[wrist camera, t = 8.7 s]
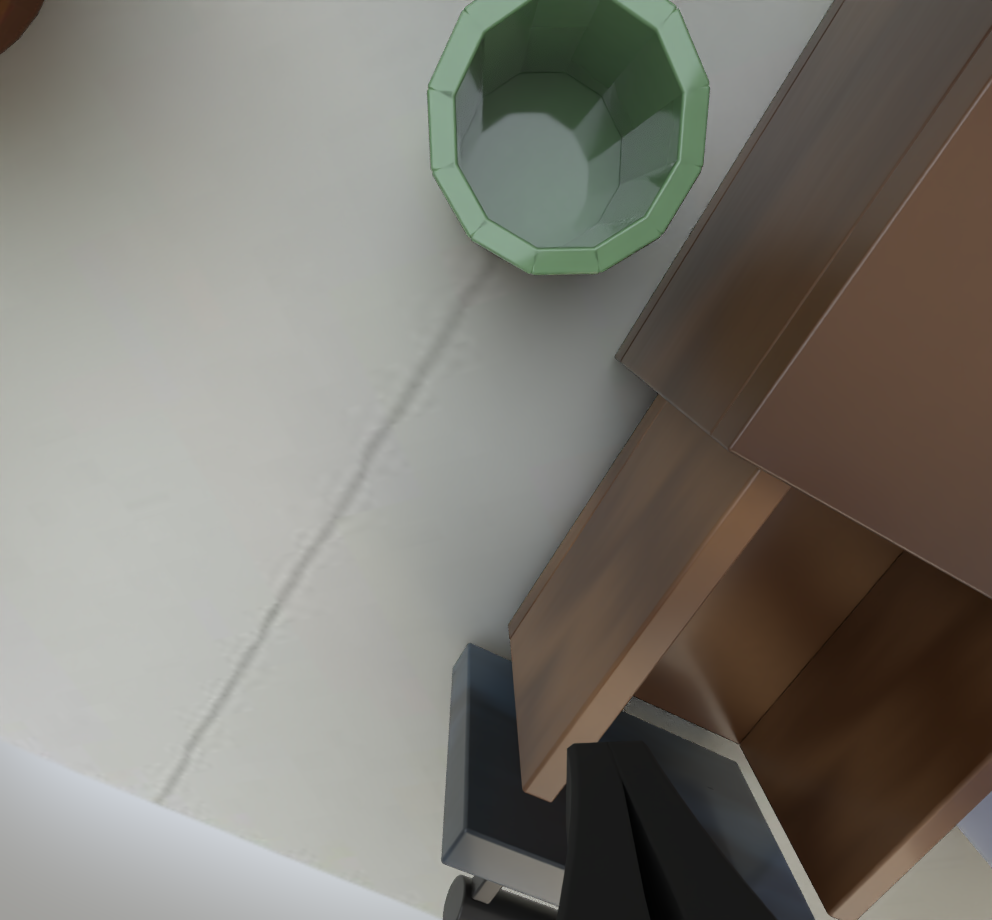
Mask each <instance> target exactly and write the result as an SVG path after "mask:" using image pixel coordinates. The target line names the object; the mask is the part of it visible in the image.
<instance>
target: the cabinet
mask: <svg viewBox="0 0 992 920" xmlns="http://www.w3.org/2000/svg"><path fill="white" fill-rule="evenodd" d="M615 358H616V359H617V360H618V361H619V362H620V363H622V364H623V365H624V366H625V367H627V368H628V369H629V370H630V371H631V372H633V373H634V374H635V375H636V376H638V377H639V378H640V379H641V380H642V381H644V382H645V383H646V384H647V385H648V386H650V387H651V388H652V389H653V390H655V391H656V392H657V393H658V394H659V395H661V396H662V397H663V398H664V399H666V400H667V401H668V402H669V403H670V404H672V405H673V406H674V407H675V408H677V409H678V410H679V411H680V412H681V413H683V414H684V415H685V416H686V417H688V418H689V419H690V420H691V421H692V422H694V423H695V424H696V425H697V426H699V427H700V428H701V429H702V430H703V431H705V432H706V433H707V434H708V435H710V436H711V437H712V438H713V439H714V440H715V441H717V442H718V443H719V444H720V445H721V446H723V447H724V448H725V449H726V450H728V451H729V452H731V453H732V454H734V455H736V456H738V457H740V458H741V459H743V460H745V461H747V462H748V463H750V464H752V465H754V466H756V467H757V468H759V469H761V470H763V471H764V472H766V473H768V474H770V475H772V476H773V477H775V478H777V479H779V480H780V481H782V482H784V483H786V484H787V485H789V486H791V487H793V488H795V489H796V490H798V491H800V492H802V493H803V494H805V495H807V496H809V497H811V498H812V499H814V500H816V501H818V502H819V503H821V504H823V505H825V506H826V507H828V508H830V509H832V510H834V511H835V512H837V513H839V514H841V515H842V516H844V517H846V518H848V519H850V520H851V521H853V522H855V523H857V524H858V525H860V526H862V527H864V528H865V529H867V530H869V531H871V532H873V533H874V534H876V535H878V536H880V537H881V538H883V539H885V540H887V541H889V542H890V543H892V544H894V545H896V546H897V547H899V548H901V549H903V550H905V551H906V552H908V553H910V554H912V555H913V556H915V557H917V558H919V559H920V560H922V561H924V562H926V563H928V564H929V565H931V566H933V567H935V568H936V569H938V570H940V571H942V572H944V573H945V574H947V575H949V576H951V577H952V578H954V579H956V580H958V581H959V582H961V583H963V584H965V585H967V586H968V587H970V588H972V589H974V590H975V591H977V592H979V593H981V594H983V595H984V596H986V597H988V598H990V599H991V600H992V0H834V2H833V3H832V5H831V6H830V8H829V10H828V11H827V13H826V15H825V16H824V18H823V19H822V21H821V23H820V24H819V26H818V28H817V29H816V31H815V32H814V34H813V36H812V37H811V39H810V41H809V42H808V44H807V45H806V47H805V49H804V50H803V52H802V53H801V55H800V57H799V58H798V60H797V62H796V63H795V65H794V66H793V68H792V70H791V71H790V73H789V75H788V76H787V78H786V79H785V81H784V83H783V84H782V86H781V88H780V89H779V91H778V92H777V94H776V96H775V97H774V99H773V101H772V102H771V104H770V105H769V107H768V109H767V110H766V112H765V114H764V115H763V117H762V118H761V120H760V122H759V123H758V125H757V127H756V128H755V130H754V131H753V133H752V135H751V136H750V138H749V140H748V141H747V143H746V144H745V146H744V148H743V149H742V151H741V153H740V154H739V156H738V157H737V159H736V161H735V162H734V164H733V166H732V167H731V169H730V170H729V172H728V174H727V175H726V177H725V178H724V180H723V182H722V183H721V185H720V187H719V188H718V190H717V191H716V193H715V195H714V196H713V198H712V200H711V201H710V203H709V204H708V206H707V208H706V209H705V211H704V213H703V214H702V216H701V217H700V219H699V221H698V222H697V224H696V226H695V227H694V229H693V230H692V232H691V234H690V235H689V237H688V239H687V240H686V242H685V243H684V245H683V247H682V248H681V250H680V252H679V253H678V255H677V256H676V258H675V260H674V261H673V263H672V265H671V266H670V268H669V269H668V271H667V273H666V274H665V276H664V278H663V279H662V281H661V282H660V284H659V286H658V287H657V289H656V291H655V292H654V294H653V295H652V297H651V299H650V300H649V302H648V303H647V305H646V307H645V308H644V310H643V312H642V313H641V315H640V316H639V318H638V320H637V321H636V323H635V325H634V326H633V328H632V329H631V331H630V333H629V334H628V336H627V338H626V339H625V341H624V342H623V344H622V346H621V347H620V349H619V351H618V352H617V354H616V355H615Z"/></svg>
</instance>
